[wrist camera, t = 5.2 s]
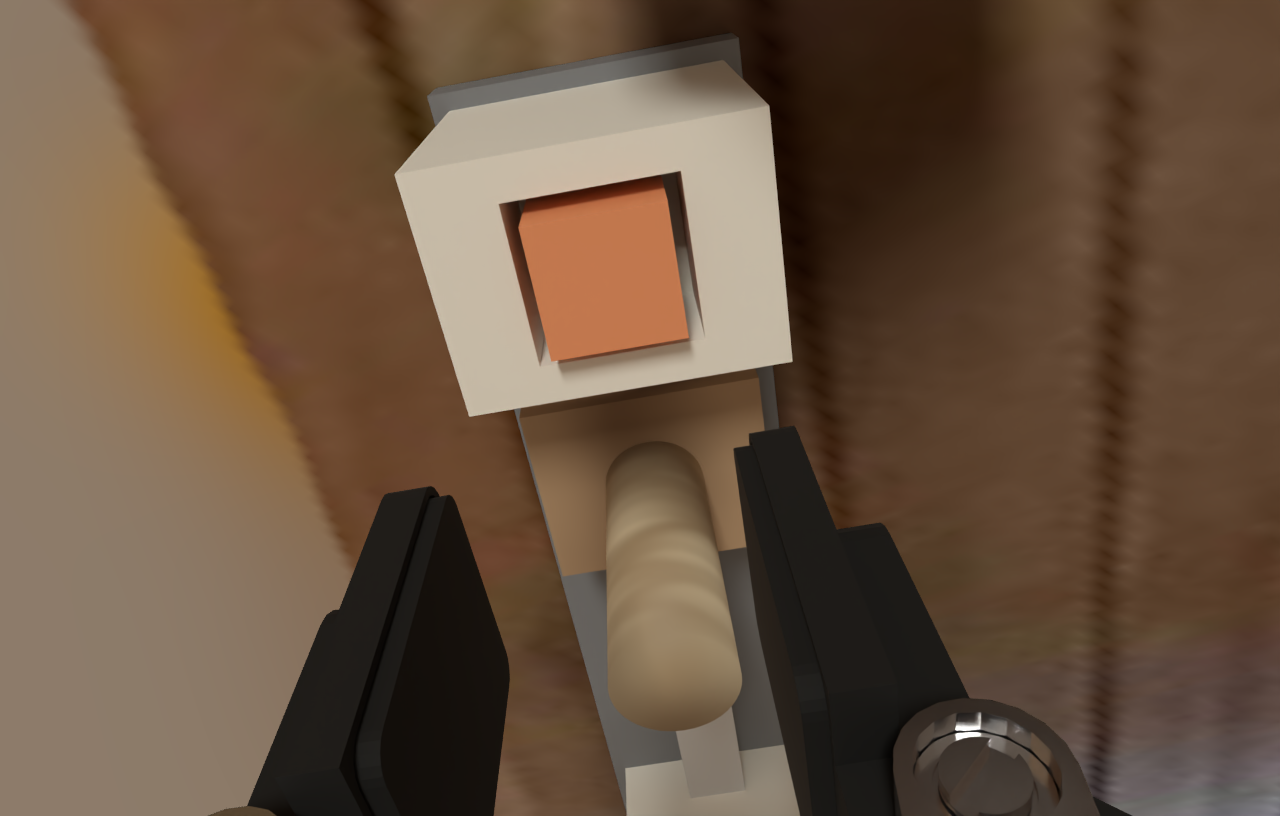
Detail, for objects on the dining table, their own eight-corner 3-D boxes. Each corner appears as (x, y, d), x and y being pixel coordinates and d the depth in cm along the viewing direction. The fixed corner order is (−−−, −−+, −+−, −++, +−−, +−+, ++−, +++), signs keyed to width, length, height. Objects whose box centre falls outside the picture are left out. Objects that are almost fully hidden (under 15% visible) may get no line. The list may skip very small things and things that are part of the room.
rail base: (731, 32, 25) (791, 76, 17) (814, 802, 43) (862, 998, 35) (436, 88, 26) (364, 155, 18) (637, 828, 43) (645, 1027, 35)
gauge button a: (657, 162, 21) (667, 201, 18) (676, 283, 22) (688, 337, 19) (530, 185, 21) (518, 227, 18) (557, 304, 23) (551, 361, 20)
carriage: (747, 348, 26) (822, 555, 17) (766, 505, 29) (838, 750, 20) (524, 386, 26) (487, 608, 18) (564, 538, 29) (550, 793, 21)
